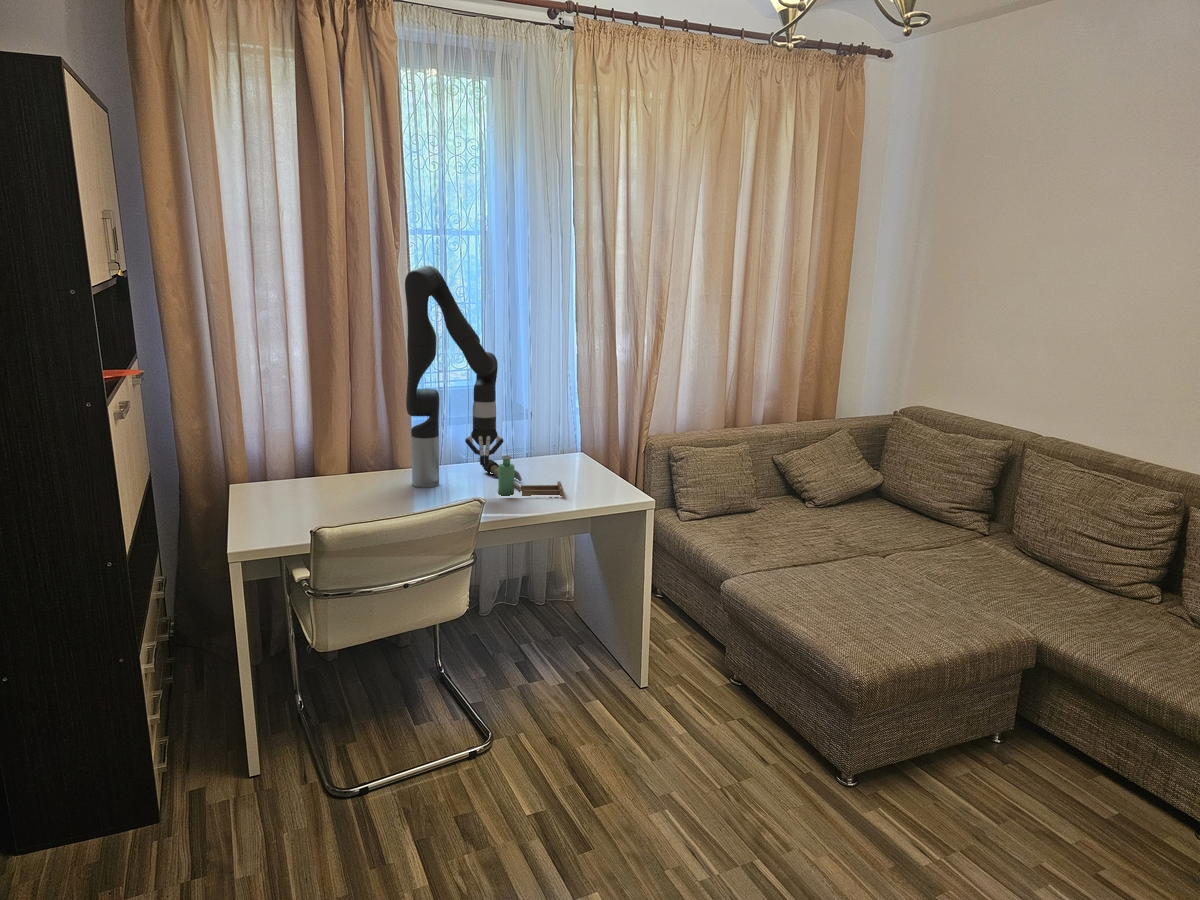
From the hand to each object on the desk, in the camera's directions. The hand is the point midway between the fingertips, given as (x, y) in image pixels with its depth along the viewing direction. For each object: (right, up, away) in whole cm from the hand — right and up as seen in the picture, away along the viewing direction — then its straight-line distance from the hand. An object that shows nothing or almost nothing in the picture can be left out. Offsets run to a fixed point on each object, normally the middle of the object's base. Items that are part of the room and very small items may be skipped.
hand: (484, 466), depth 269 cm
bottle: (+7, -9, +4) cm, 12 cm away
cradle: (+14, -10, +5) cm, 18 cm away
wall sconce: (+5, -6, +21) cm, 23 cm away
